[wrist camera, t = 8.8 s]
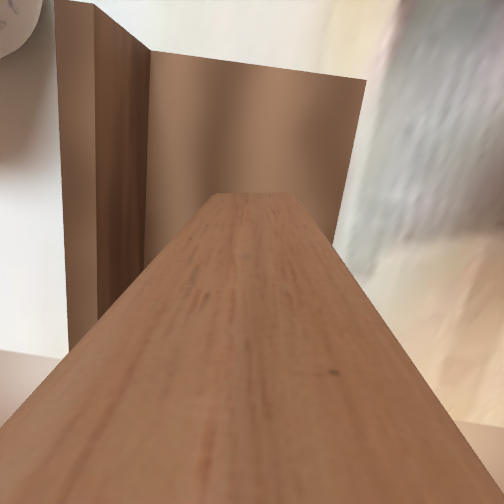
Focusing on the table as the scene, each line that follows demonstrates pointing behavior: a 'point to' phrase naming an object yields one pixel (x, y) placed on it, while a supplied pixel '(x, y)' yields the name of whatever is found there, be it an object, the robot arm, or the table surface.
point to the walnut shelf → (178, 147)
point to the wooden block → (240, 385)
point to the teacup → (17, 23)
